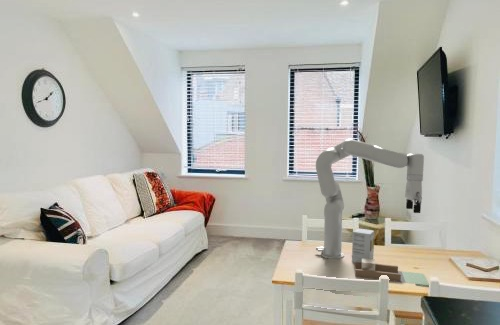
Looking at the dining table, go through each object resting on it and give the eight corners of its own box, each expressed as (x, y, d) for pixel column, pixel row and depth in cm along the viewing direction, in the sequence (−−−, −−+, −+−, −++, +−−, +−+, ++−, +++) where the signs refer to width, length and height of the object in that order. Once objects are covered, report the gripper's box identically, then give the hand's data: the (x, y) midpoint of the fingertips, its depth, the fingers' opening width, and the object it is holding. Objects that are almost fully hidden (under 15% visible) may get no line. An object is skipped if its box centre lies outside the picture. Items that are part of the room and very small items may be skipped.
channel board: (355, 278, 167) (355, 270, 167) (355, 267, 181) (355, 260, 180) (429, 286, 158) (430, 278, 158) (423, 274, 172) (424, 267, 172)
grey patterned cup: (361, 274, 170) (362, 262, 170) (361, 270, 176) (361, 258, 176) (374, 275, 169) (375, 263, 168) (374, 271, 174) (374, 259, 174)
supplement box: (369, 266, 183) (370, 234, 181) (351, 262, 188) (352, 231, 186) (373, 260, 191) (374, 230, 189) (356, 257, 196) (357, 227, 194)
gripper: (401, 175, 190) (399, 207, 191) (413, 179, 172) (412, 214, 174) (415, 175, 189) (413, 207, 191) (429, 180, 172) (427, 214, 173)
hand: (413, 210), depth 182 cm, fingers open, 9 cm apart
